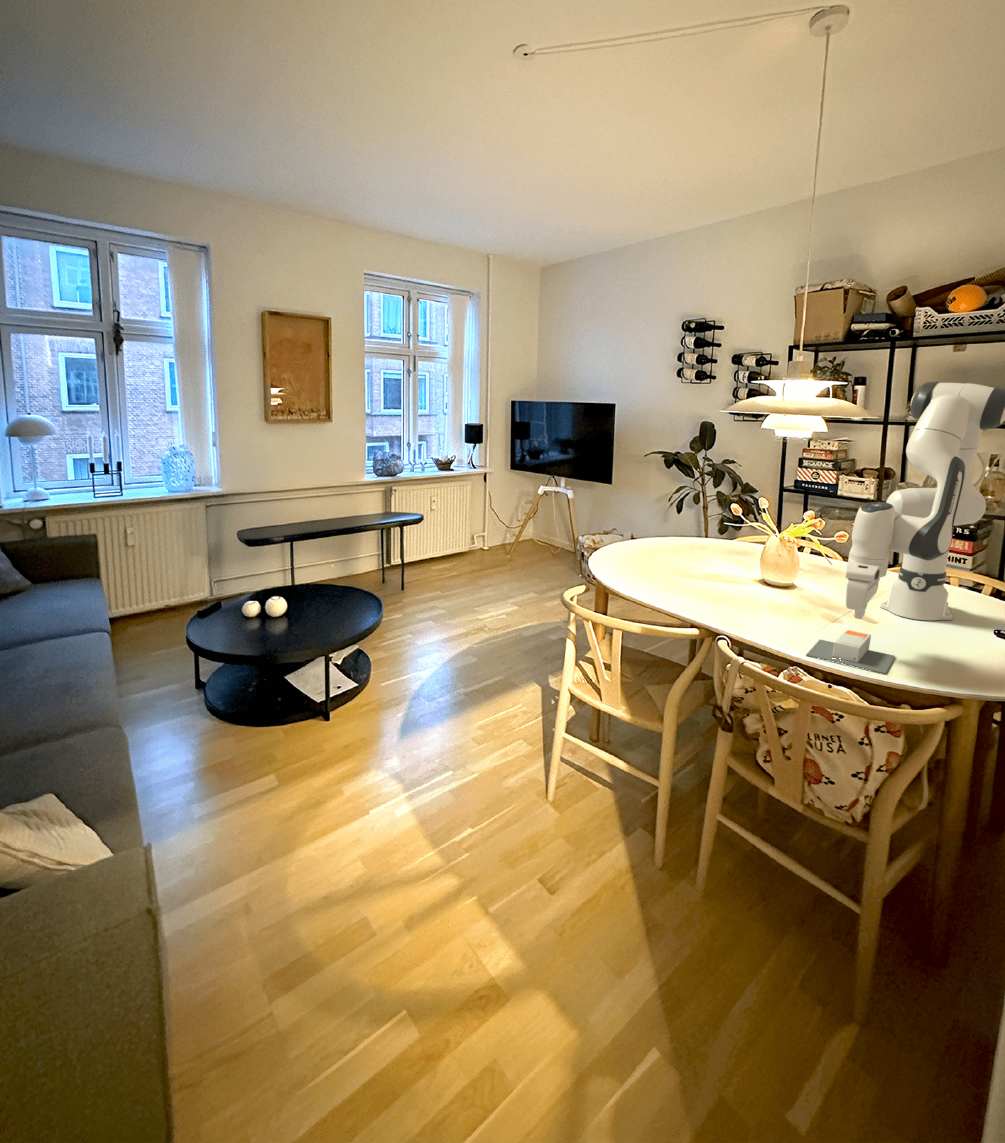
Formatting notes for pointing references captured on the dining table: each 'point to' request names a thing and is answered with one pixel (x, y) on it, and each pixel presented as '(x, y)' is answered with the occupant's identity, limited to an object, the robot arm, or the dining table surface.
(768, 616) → the dining table surface
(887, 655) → the mat
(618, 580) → the dining table surface
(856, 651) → the skincare box
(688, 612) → the dining table surface
